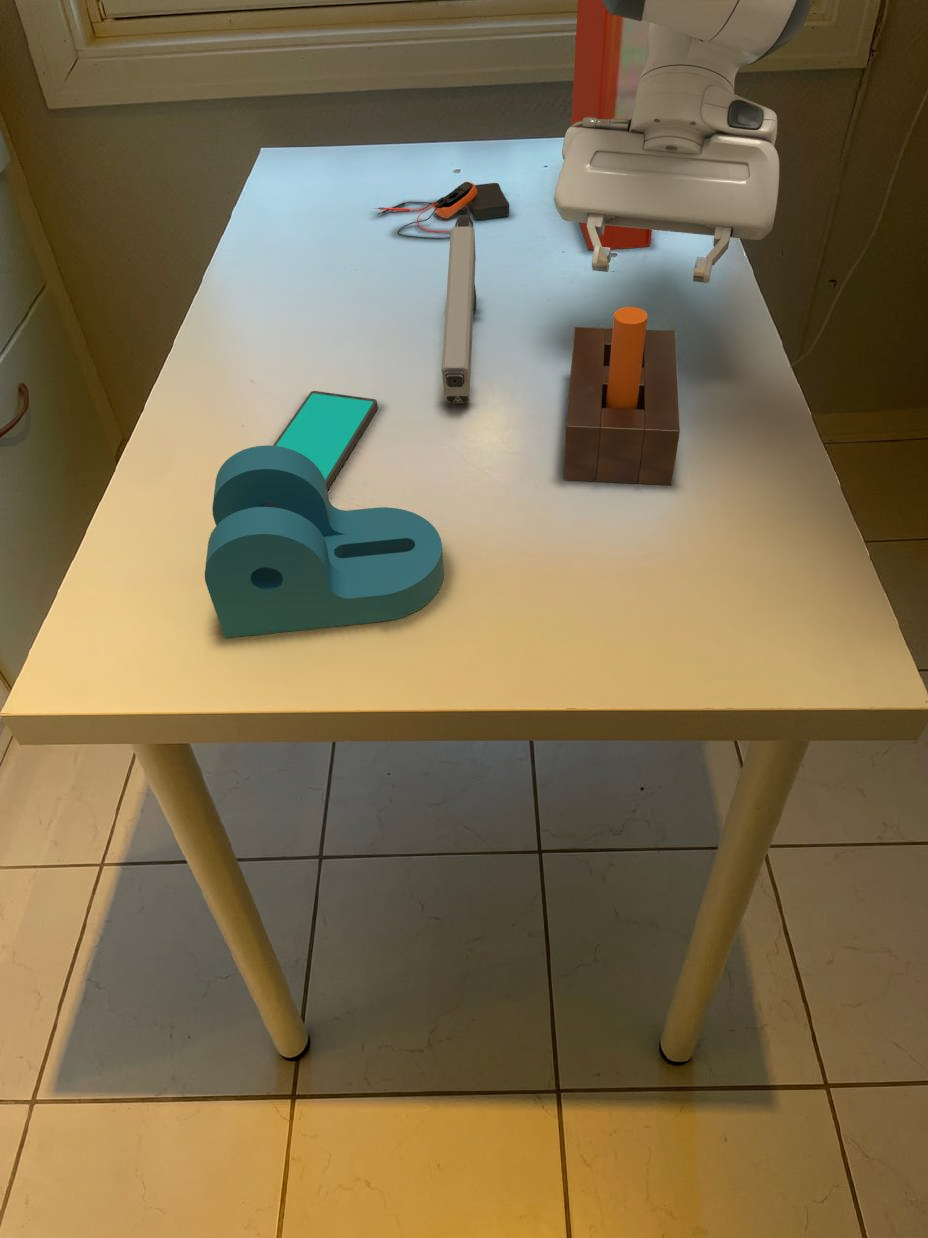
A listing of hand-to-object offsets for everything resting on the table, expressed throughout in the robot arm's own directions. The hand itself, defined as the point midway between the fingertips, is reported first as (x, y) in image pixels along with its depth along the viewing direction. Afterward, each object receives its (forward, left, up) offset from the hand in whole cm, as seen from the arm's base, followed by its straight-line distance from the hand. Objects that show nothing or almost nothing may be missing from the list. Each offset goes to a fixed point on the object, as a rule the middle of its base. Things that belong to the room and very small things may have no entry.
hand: (649, 274), depth 87 cm
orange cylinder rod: (+2, +11, -12) cm, 16 cm away
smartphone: (+31, +13, -12) cm, 35 cm away
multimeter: (+26, -37, -12) cm, 47 cm away
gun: (+19, -5, -12) cm, 23 cm away
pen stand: (+2, +8, -12) cm, 14 cm away
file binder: (+4, -38, -12) cm, 41 cm away
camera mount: (+25, +31, -12) cm, 41 cm away
